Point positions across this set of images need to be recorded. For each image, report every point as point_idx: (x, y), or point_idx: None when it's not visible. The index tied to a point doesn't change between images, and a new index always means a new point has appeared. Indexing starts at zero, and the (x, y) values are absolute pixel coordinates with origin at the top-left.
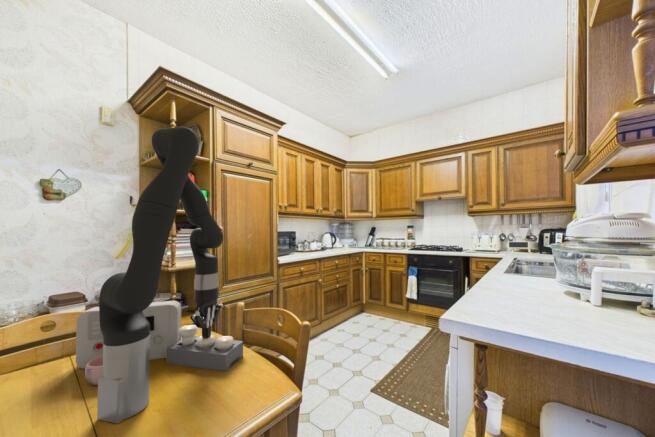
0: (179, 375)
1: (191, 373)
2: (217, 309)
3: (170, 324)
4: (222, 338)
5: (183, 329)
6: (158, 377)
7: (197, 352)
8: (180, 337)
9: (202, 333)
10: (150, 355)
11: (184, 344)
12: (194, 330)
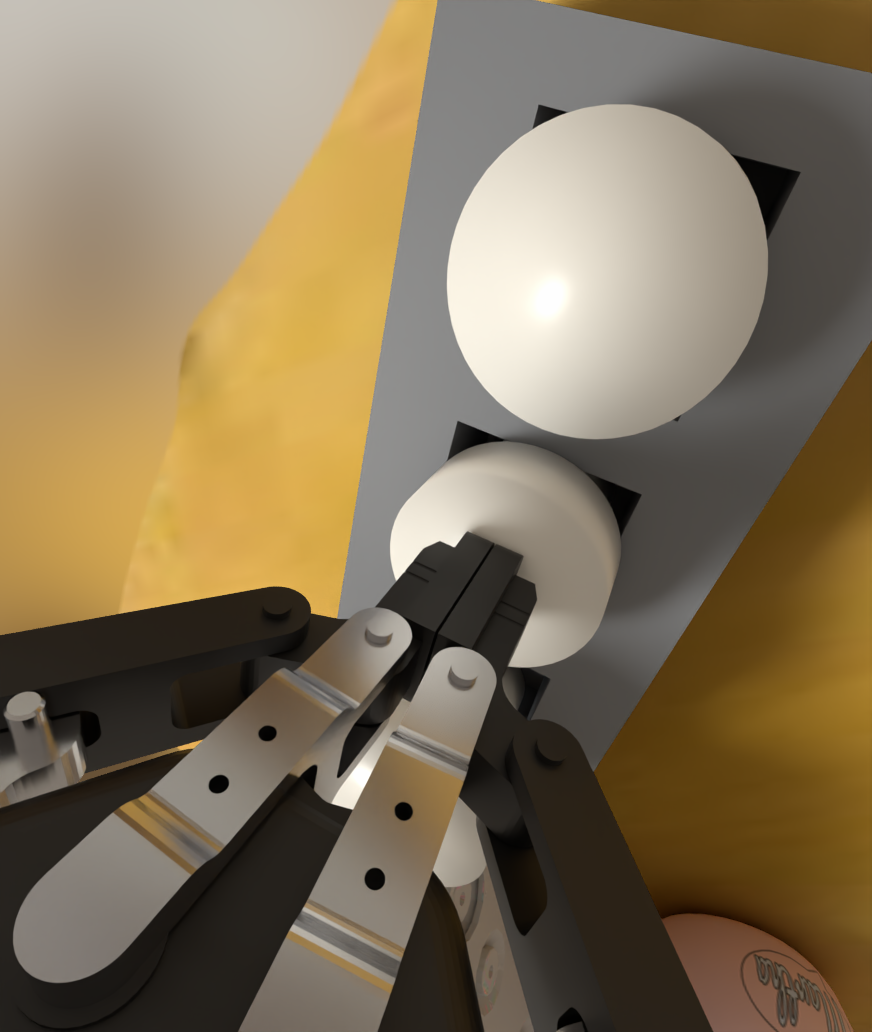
0: (840, 615)
1: (836, 525)
2: (44, 694)
3: None
4: (544, 337)
5: (440, 857)
6: (818, 746)
7: (711, 581)
8: None
9: (510, 659)
10: None
11: None
12: None
